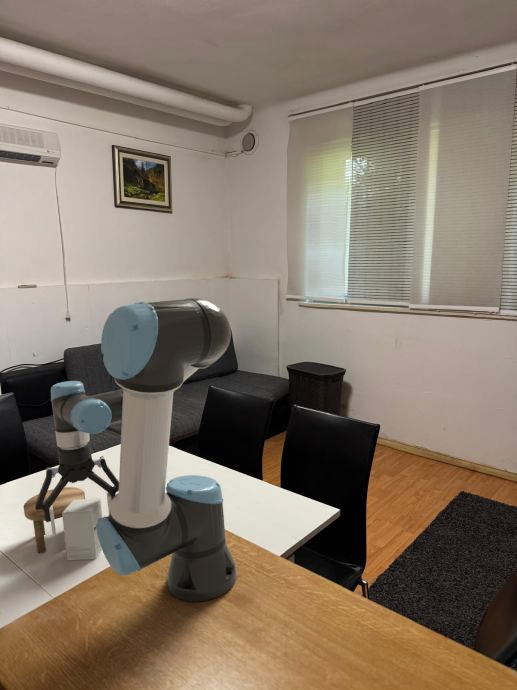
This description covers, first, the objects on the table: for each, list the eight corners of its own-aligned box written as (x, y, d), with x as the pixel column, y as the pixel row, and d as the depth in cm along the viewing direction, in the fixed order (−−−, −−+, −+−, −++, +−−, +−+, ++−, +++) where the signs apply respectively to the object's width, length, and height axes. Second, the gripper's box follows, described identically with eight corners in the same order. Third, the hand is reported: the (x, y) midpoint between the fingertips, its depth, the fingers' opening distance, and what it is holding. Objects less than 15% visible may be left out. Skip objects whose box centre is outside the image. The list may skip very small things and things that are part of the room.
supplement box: (96, 559, 117) (90, 511, 115) (66, 561, 117) (60, 512, 115) (106, 543, 124) (101, 497, 122) (78, 544, 124) (72, 498, 123)
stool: (92, 543, 124) (87, 503, 123) (28, 560, 118) (22, 519, 117) (86, 518, 138) (82, 482, 136) (29, 533, 132) (24, 495, 130)
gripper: (123, 430, 125) (130, 506, 128) (17, 449, 115) (28, 531, 118) (128, 439, 118) (136, 518, 122) (16, 460, 108) (28, 546, 112)
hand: (83, 525), depth 120 cm, fingers open, 13 cm apart
